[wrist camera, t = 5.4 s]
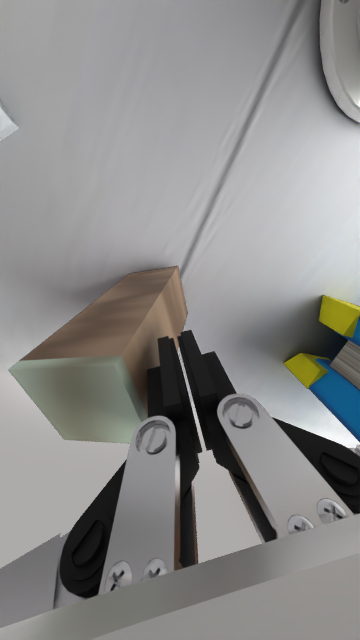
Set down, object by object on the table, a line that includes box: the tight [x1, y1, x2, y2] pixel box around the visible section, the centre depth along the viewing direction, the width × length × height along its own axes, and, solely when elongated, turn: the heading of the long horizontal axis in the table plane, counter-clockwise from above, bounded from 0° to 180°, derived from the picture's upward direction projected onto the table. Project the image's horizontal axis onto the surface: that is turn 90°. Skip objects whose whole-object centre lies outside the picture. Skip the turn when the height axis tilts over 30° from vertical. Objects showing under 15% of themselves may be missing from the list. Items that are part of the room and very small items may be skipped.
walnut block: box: [8, 266, 188, 444], centre depth 13 cm, size 4×4×12 cm
